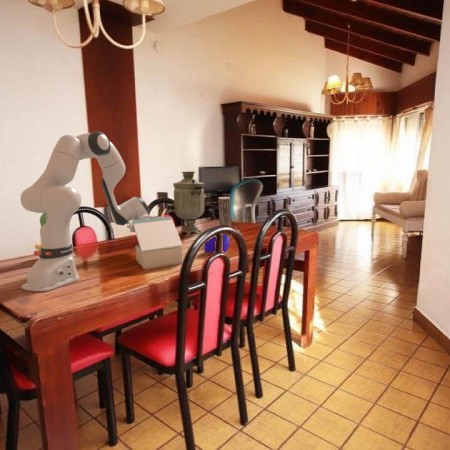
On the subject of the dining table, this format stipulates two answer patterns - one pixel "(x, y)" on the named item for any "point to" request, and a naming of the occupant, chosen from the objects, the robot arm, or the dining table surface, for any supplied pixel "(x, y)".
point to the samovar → (188, 201)
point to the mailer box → (159, 257)
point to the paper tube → (224, 212)
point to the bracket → (211, 244)
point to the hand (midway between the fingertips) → (154, 228)
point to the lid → (156, 234)
